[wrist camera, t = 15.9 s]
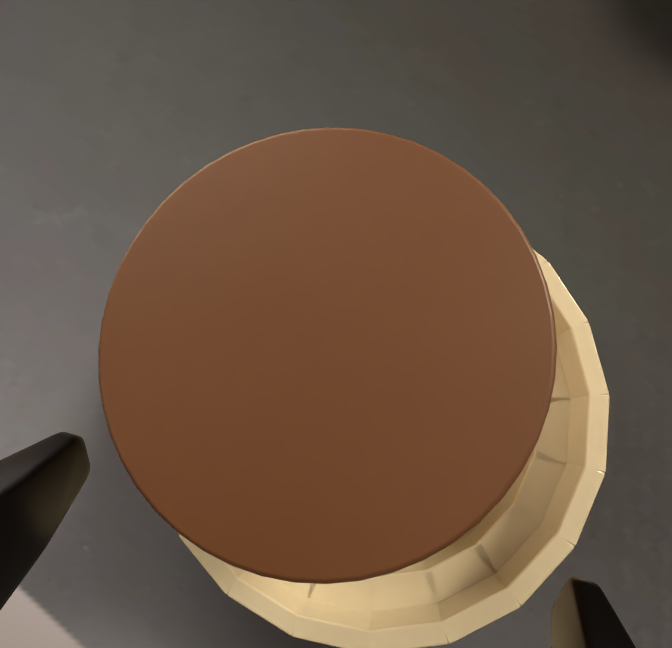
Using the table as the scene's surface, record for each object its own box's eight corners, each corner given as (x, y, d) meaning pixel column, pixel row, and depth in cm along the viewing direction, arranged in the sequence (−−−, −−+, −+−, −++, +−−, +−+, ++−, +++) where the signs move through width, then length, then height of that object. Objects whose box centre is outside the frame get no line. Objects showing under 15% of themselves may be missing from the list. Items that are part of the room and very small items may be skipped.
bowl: (551, 648, 17) (594, 707, 13) (161, 563, 20) (101, 593, 16) (578, 252, 20) (619, 207, 16) (235, 218, 22) (200, 171, 19)
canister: (491, 412, 19) (670, 350, 6) (364, 526, 18) (281, 706, 6) (378, 292, 20) (339, 49, 8) (259, 395, 20) (17, 317, 7)
